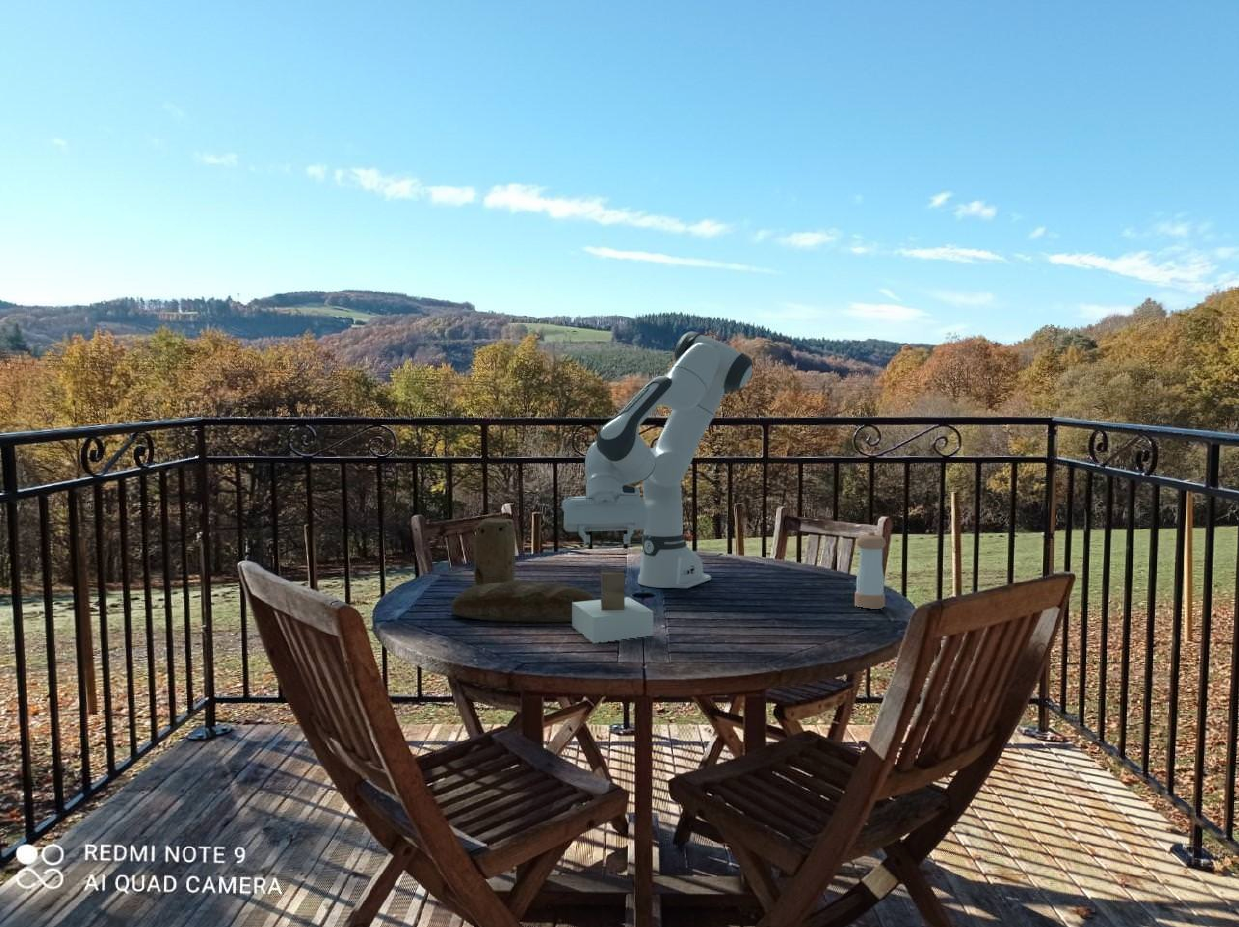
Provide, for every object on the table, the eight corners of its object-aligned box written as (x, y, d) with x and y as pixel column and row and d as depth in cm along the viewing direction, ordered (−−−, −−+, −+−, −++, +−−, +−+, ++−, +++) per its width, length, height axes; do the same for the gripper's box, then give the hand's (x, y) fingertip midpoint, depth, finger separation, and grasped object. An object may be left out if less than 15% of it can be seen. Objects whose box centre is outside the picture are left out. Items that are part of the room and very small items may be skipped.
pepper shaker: (886, 611, 195) (888, 534, 193) (855, 609, 196) (857, 533, 195) (882, 603, 202) (884, 529, 201) (853, 602, 203) (855, 528, 202)
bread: (462, 606, 199) (461, 573, 199) (604, 610, 196) (604, 576, 196) (443, 623, 184) (442, 587, 183) (597, 627, 181) (597, 591, 180)
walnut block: (600, 604, 178) (601, 569, 177) (623, 604, 178) (623, 569, 178) (601, 610, 173) (602, 574, 172) (624, 610, 173) (624, 574, 173)
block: (517, 590, 216) (516, 517, 215) (510, 596, 209) (510, 521, 207) (478, 588, 217) (478, 517, 216) (470, 595, 210) (469, 520, 208)
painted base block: (628, 622, 185) (628, 597, 185) (653, 638, 173) (653, 611, 172) (572, 628, 180) (572, 602, 180) (593, 645, 167) (593, 617, 167)
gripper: (561, 489, 190) (562, 536, 181) (645, 487, 191) (650, 534, 182) (561, 505, 195) (562, 551, 186) (643, 503, 196) (648, 549, 187)
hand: (607, 543), depth 184 cm, fingers open, 8 cm apart
